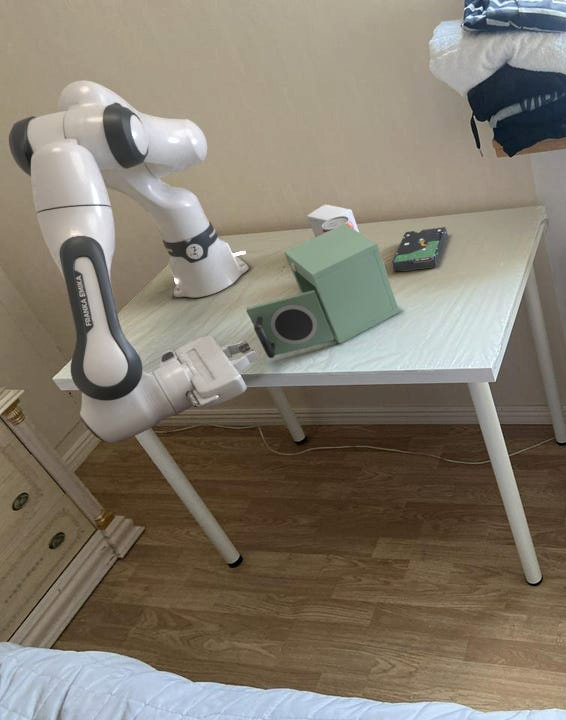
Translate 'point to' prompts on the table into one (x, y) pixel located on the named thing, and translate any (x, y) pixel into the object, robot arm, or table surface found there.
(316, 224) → the cosmetics box
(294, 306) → the door
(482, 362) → the table surface
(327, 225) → the soda can
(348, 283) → the washer
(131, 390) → the robot arm
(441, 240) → the disk drive
